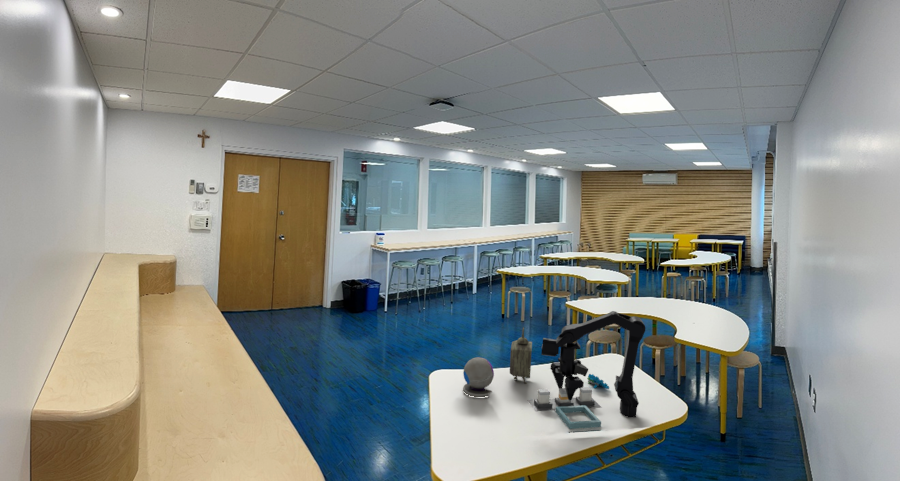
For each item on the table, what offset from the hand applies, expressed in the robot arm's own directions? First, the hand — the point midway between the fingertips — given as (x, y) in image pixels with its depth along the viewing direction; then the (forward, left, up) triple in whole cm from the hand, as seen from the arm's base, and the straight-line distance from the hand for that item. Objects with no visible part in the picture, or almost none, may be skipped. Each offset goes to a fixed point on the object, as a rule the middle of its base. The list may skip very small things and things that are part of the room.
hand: (565, 394), depth 178 cm
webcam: (+17, +32, -6) cm, 37 cm away
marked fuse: (0, 0, -4) cm, 4 cm away
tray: (-12, 0, -5) cm, 13 cm away
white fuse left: (0, +9, -4) cm, 10 cm away
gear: (+14, -22, -6) cm, 26 cm away
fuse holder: (0, 0, -5) cm, 5 cm away
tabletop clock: (+26, +10, -6) cm, 28 cm away
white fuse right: (0, -9, -4) cm, 10 cm away
